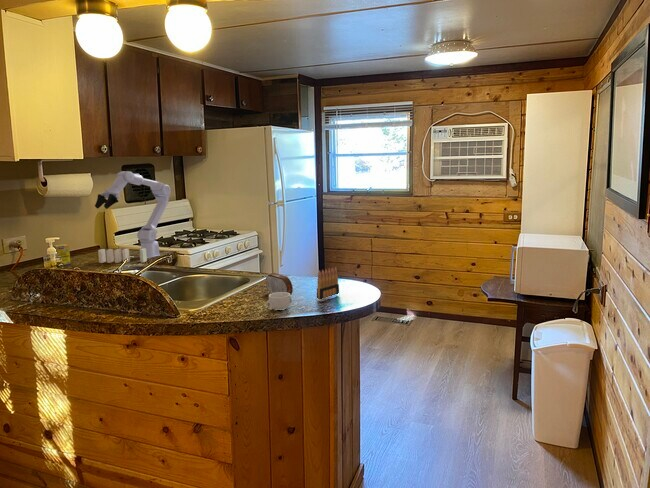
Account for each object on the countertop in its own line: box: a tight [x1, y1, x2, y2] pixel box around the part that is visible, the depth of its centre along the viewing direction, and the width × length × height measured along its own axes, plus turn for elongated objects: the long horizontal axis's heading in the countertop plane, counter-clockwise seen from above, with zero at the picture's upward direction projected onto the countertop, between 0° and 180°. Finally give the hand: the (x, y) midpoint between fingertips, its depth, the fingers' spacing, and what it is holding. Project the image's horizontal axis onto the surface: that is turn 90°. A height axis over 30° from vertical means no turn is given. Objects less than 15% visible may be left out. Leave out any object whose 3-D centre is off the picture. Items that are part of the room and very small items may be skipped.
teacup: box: [265, 292, 291, 310], centre depth 174 cm, size 10×8×5 cm
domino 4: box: [121, 248, 131, 263], centre depth 270 cm, size 2×5×7 cm, turn 177°
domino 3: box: [113, 248, 123, 264], centre depth 270 cm, size 2×5×7 cm, turn 177°
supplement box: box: [52, 243, 72, 267], centre depth 264 cm, size 6×6×11 cm
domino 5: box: [139, 248, 148, 263], centre depth 269 cm, size 2×5×7 cm, turn 177°
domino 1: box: [97, 248, 107, 264], centre depth 270 cm, size 2×5×7 cm, turn 177°
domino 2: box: [105, 248, 115, 264], centre depth 270 cm, size 2×5×7 cm, turn 177°
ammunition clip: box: [316, 265, 340, 299], centre depth 187 cm, size 11×2×12 cm, turn 136°
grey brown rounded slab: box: [265, 272, 294, 296], centre depth 193 cm, size 15×3×8 cm, turn 41°
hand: (100, 207), depth 256 cm, fingers open, 7 cm apart
